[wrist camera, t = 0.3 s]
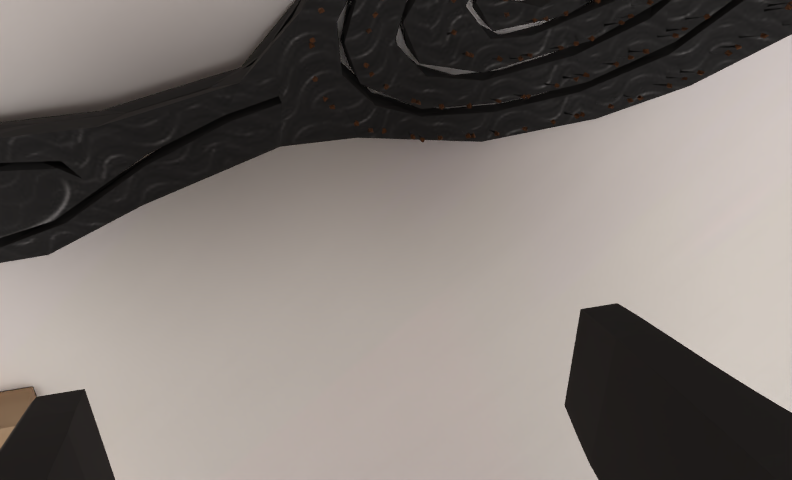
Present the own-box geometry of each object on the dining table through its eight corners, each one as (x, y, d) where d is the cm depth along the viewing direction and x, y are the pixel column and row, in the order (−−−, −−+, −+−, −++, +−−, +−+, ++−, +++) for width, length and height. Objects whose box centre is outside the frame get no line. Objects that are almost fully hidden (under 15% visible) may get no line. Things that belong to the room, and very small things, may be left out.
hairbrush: (-341, 126, 13) (955, -343, 13) (-234, 57, 16) (818, -324, 16) (-51, 408, 18) (896, 74, 18) (-10, 314, 21) (799, 28, 21)
